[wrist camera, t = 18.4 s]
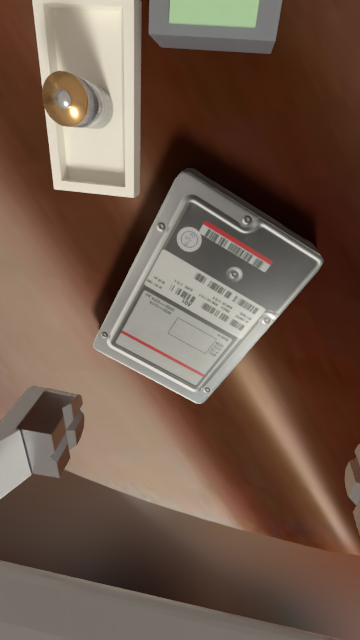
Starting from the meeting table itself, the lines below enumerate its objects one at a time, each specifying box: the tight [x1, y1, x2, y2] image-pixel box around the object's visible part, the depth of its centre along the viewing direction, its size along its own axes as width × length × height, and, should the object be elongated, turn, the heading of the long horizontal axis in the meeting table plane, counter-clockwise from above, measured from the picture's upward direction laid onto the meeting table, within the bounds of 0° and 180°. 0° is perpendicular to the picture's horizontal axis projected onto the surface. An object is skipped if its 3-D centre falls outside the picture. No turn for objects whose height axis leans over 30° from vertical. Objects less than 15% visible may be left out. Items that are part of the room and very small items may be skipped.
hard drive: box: [93, 168, 324, 404], centre depth 43 cm, size 18×27×4 cm
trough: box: [32, 0, 142, 198], centre depth 34 cm, size 10×17×2 cm, turn 176°
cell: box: [42, 71, 113, 129], centre depth 31 cm, size 4×4×8 cm
